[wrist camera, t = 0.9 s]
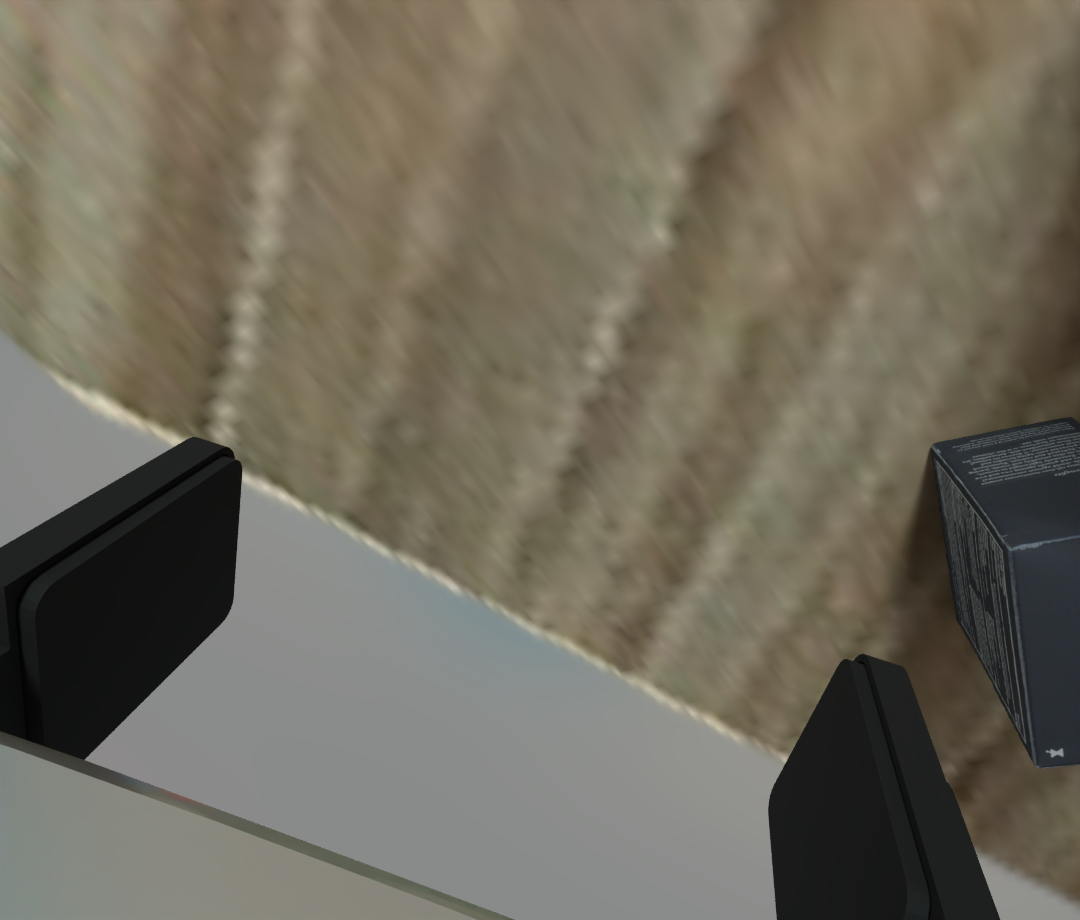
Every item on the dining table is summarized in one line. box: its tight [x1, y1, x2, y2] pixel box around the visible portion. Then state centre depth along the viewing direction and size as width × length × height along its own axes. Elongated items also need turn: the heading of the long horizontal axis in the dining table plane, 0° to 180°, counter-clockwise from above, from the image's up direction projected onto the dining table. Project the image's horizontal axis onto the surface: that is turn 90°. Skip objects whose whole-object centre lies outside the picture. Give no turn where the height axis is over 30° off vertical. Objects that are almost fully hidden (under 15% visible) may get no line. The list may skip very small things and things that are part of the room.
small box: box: [931, 417, 1080, 769], centre depth 32 cm, size 11×6×10 cm, turn 18°
